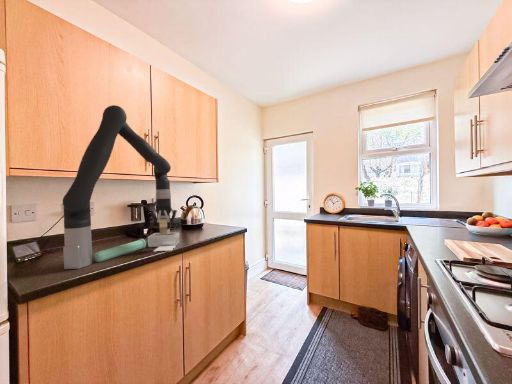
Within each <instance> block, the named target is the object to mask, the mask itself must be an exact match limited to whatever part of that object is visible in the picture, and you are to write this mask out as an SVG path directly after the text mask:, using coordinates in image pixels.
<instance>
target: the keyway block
mask: <svg viewBox="0 0 512 384" xmlns="http://www.w3.org/2000/svg"><path fill="white" fill-rule="evenodd" d="M179 243H180V231H179V232H177V231H176V232H171V231H170V233H168V234H160V232H154V233H152V234H150V235H149V236H147V248H158V247H159V246H176V245H178V244H179Z"/></svg>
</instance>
